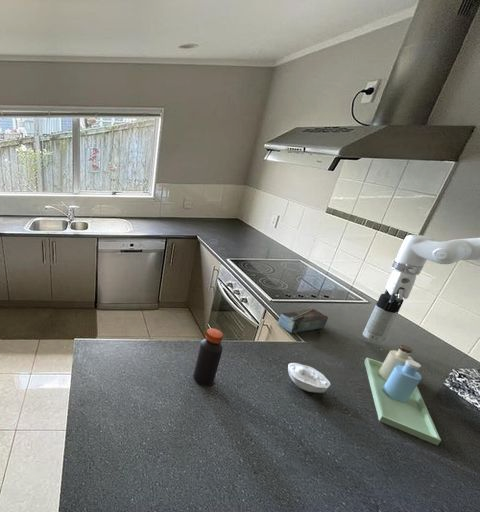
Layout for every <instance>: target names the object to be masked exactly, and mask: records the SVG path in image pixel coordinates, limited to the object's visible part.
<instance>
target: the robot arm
mask: <svg viewBox="0 0 480 512" xmlns="http://www.w3.org/2000/svg"><path fill="white" fill-rule="evenodd" d="M472 260H473V261H475V260H480V237H471V238H469V237H468V238H458V239H450V240H445V241H436V240H435V238H432V237H430V236H426V235H422V234H408V235H406V236H405V237H404V240H403V242H402V244H401V246H400V248H399V249H398V252H397V255H396V257H395V258H394V261H393V263H392V266H391V269H392V272H391V273H390V275H389V278H388V279H387V282H386V284H385V291H384V294H385V293H387V294H390V295H391V297H390V300H389V301H388V302H387V304H386V306H385V308H384V311H387V312H391V313H395V312H396V310H397V308H398V306H399V305H400V302H401V301H402V300H406V299H408V298H409V296H410V294H411V292H412V290H413V287H414V285H415V282H416V279H417V276H419V275H420V274H421V272H422V270H423V268H424V266H425V264H426V262H427V261H430V262H432V263H436V264H438V265H439V264H440V265H451V264H455V263H458V262H461V261H472ZM393 297H396V298H394V299H393Z"/></svg>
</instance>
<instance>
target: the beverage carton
mask: <svg viewBox="0 0 480 512" xmlns="http://www.w3.org/2000/svg"><path fill="white" fill-rule="evenodd" d="M328 319H329V316H327V315H325V314H324V313H322V312H320V311H318V310H316V309H315V308H309V309H302V310H295V311H290V312H281V313H280V315H279V318H278V321H277V323H278V325H279V326H280V327H282V328H283V329H285V330H286V331H288V332H289V333H291V334H295V333H300V332H307V331H308V332H309V331H313V330H320V329H325V328H326V324H327V322H328Z"/></svg>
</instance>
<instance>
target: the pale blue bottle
mask: <svg viewBox="0 0 480 512" xmlns="http://www.w3.org/2000/svg"><path fill="white" fill-rule="evenodd" d="M413 360H414V359H413ZM413 360H407V361H406V362H405V363H406V364H405V366H402V365H397V366H395V368H394V370H393V372H392V373H391V375H390V377H389V378H388V380H387V382H386V383H385V385H384V387H383V388H382V390H383V392H384V393H385V394H386V395H387V396H389V397H390V398H392V399H394V400H396V401H399V402H406V401H407V400H408V399H409V397H410V396H411V394H412V392H413V391H414V389H415V388H416V386H417V387H418V385H419V384H420V382H421V380H422V378H423V377H422V375H421V374H420V373H419V372H418V371H419V370H420V369H421V367H422V365H421V364H420V363H419V362H418V361H415V360H414V361H413Z"/></svg>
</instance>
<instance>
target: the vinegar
mask: <svg viewBox="0 0 480 512" xmlns="http://www.w3.org/2000/svg"><path fill="white" fill-rule="evenodd" d="M223 336H224V333H223V332H222V331H221V330H219V329H217V328H214V327H213V328H212V327H211V328H207V330H206V333H205V338H203V339H201V341H200V346H199V349H198V353H197V354H198V355H197V358H196V363H195V366H194V370H193V380H194V381H195V383H197V384H199V385H200V386H203V387H211V386H213V384H214V383H215V380H216V375H217V372H218V368H219V364H220V361H221V356H222V355H223V354H222V353H223V345H222V344H221V343H222V340H223Z"/></svg>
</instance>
